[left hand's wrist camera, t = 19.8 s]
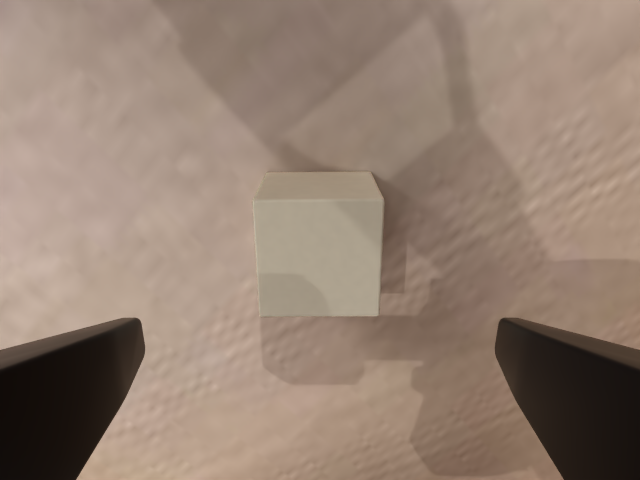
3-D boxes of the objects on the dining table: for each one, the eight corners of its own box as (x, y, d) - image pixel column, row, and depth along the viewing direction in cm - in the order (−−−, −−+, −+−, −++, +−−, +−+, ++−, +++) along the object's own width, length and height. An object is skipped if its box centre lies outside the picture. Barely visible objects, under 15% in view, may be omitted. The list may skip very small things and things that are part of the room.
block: (265, 171, 19) (251, 199, 15) (371, 171, 19) (385, 198, 15) (270, 269, 20) (258, 318, 16) (368, 268, 20) (379, 317, 16)
